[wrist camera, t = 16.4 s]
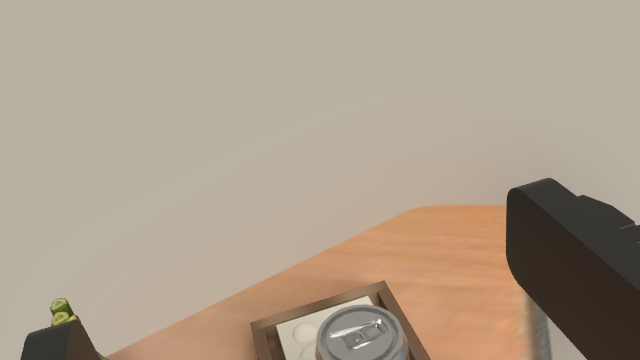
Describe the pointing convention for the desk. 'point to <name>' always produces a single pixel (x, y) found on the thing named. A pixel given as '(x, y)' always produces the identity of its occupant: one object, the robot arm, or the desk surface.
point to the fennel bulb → (64, 315)
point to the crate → (377, 293)
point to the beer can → (361, 335)
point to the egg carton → (307, 331)
